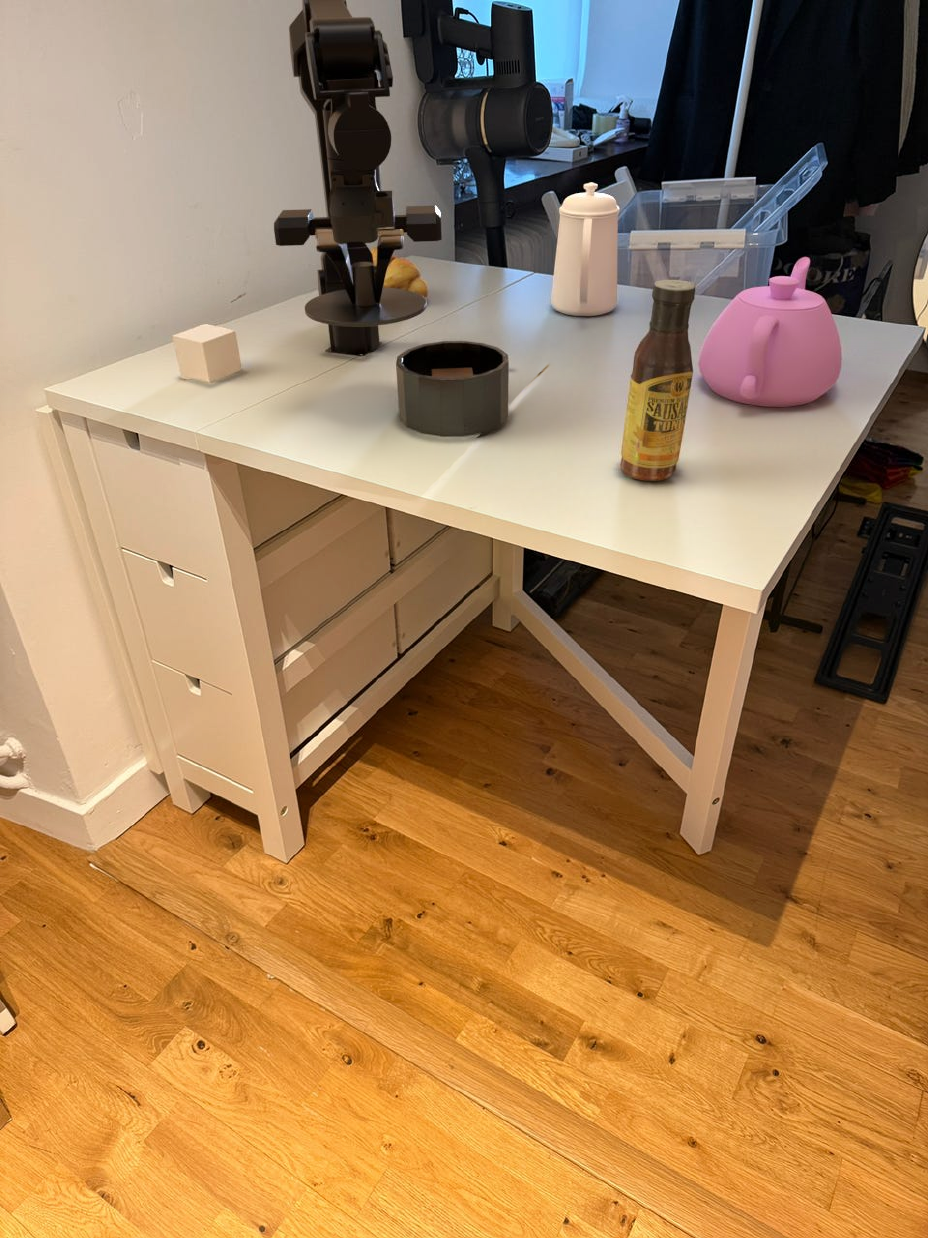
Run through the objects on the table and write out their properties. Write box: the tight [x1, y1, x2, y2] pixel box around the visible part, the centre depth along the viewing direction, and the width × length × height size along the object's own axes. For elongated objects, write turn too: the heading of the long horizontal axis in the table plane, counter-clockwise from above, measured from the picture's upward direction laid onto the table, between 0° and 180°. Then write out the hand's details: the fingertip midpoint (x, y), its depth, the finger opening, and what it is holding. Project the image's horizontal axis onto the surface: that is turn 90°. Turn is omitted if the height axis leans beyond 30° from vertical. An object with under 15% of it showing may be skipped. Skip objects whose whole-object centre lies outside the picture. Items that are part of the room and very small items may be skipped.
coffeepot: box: [550, 181, 620, 317], centre depth 139 cm, size 11×25×19 cm, turn 172°
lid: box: [304, 262, 427, 327], centre depth 103 cm, size 15×15×6 cm
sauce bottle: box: [620, 279, 696, 482], centre depth 90 cm, size 7×6×20 cm
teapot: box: [697, 256, 843, 408], centre depth 112 cm, size 25×18×14 cm
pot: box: [395, 340, 510, 439], centre depth 106 cm, size 13×13×8 cm
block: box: [432, 368, 473, 378], centre depth 107 cm, size 5×5×5 cm
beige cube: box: [171, 323, 243, 384], centre depth 121 cm, size 6×6×6 cm
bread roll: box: [370, 246, 429, 299], centre depth 148 cm, size 13×10×8 cm
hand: (365, 302), depth 104 cm, fingers closed on lid, 3 cm apart
